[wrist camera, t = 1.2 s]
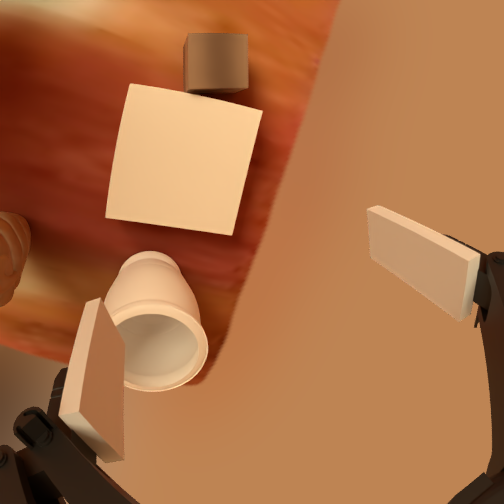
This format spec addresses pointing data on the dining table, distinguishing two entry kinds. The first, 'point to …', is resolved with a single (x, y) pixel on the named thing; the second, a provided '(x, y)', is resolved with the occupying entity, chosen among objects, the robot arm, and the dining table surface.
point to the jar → (156, 323)
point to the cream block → (181, 160)
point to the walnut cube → (215, 63)
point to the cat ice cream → (12, 252)
